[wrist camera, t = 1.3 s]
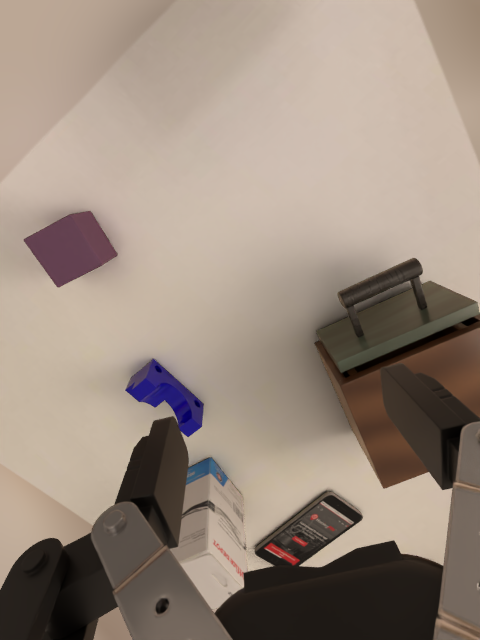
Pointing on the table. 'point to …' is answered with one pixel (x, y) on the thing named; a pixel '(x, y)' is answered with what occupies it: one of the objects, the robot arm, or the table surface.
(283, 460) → the table surface
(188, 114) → the table surface
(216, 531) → the ink box
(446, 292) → the drawer
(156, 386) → the cable holder
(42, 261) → the block
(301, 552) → the smartphone
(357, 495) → the table surface
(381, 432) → the cabinet
